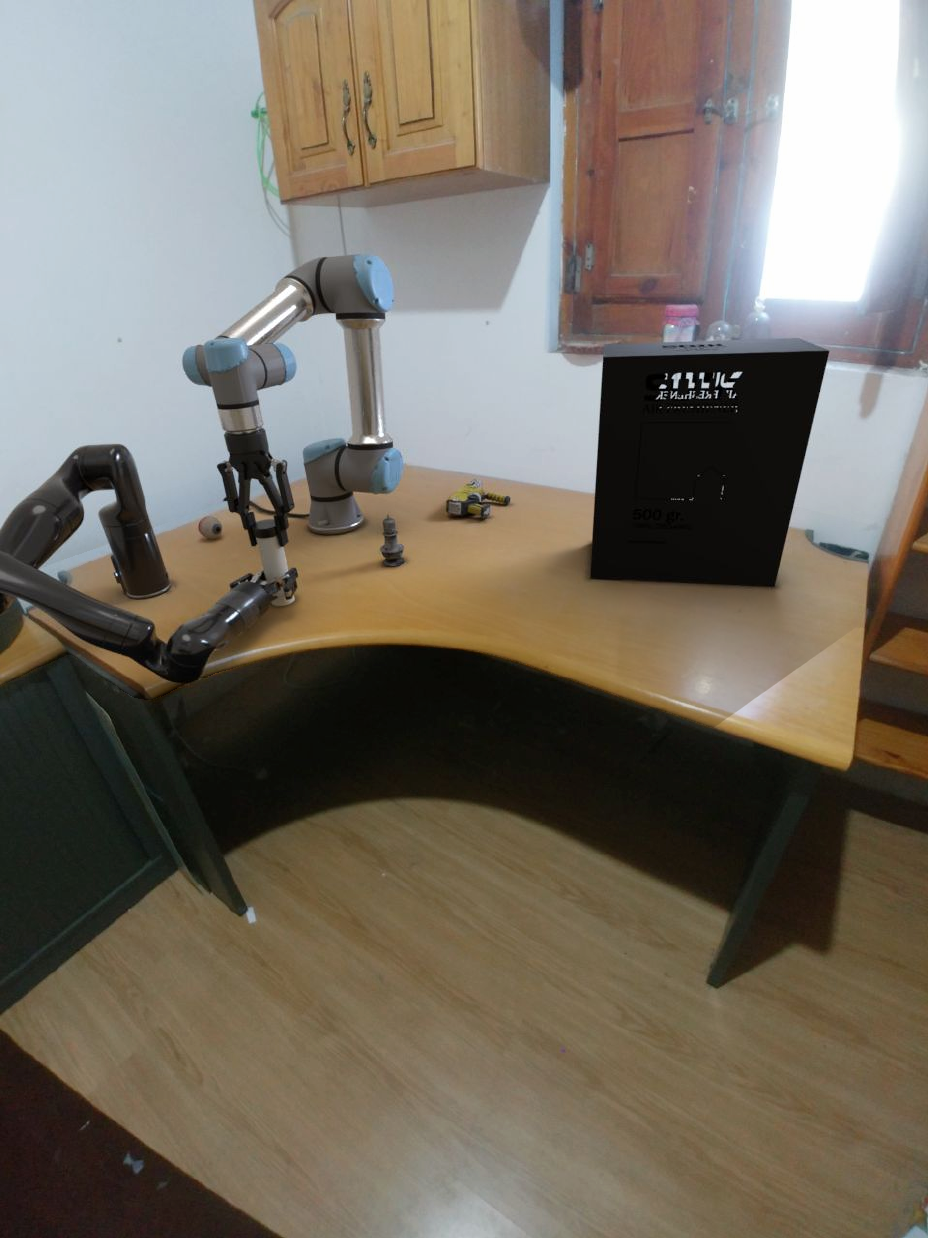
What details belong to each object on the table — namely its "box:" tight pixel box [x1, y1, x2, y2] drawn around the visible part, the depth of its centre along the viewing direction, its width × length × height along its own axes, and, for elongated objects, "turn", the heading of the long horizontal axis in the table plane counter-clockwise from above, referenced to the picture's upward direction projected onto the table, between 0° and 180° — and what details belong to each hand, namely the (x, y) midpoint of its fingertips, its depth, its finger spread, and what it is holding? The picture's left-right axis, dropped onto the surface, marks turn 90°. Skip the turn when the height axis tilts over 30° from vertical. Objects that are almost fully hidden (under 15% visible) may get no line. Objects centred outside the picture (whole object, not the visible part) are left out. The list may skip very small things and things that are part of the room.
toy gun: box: [445, 478, 511, 520], centre depth 176 cm, size 5×24×15 cm
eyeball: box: [197, 516, 223, 540], centre depth 164 cm, size 6×6×6 cm
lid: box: [252, 518, 277, 538], centre depth 123 cm, size 6×6×2 cm
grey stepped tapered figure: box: [379, 514, 405, 567], centre depth 143 cm, size 6×6×12 cm
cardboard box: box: [589, 337, 830, 587], centre depth 126 cm, size 38×20×45 cm, turn 78°
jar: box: [256, 535, 296, 607], centre depth 127 cm, size 5×5×17 cm
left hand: (283, 570), depth 130 cm, fingers closed on jar, 5 cm apart
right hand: (270, 543), depth 124 cm, fingers closed on lid, 5 cm apart
